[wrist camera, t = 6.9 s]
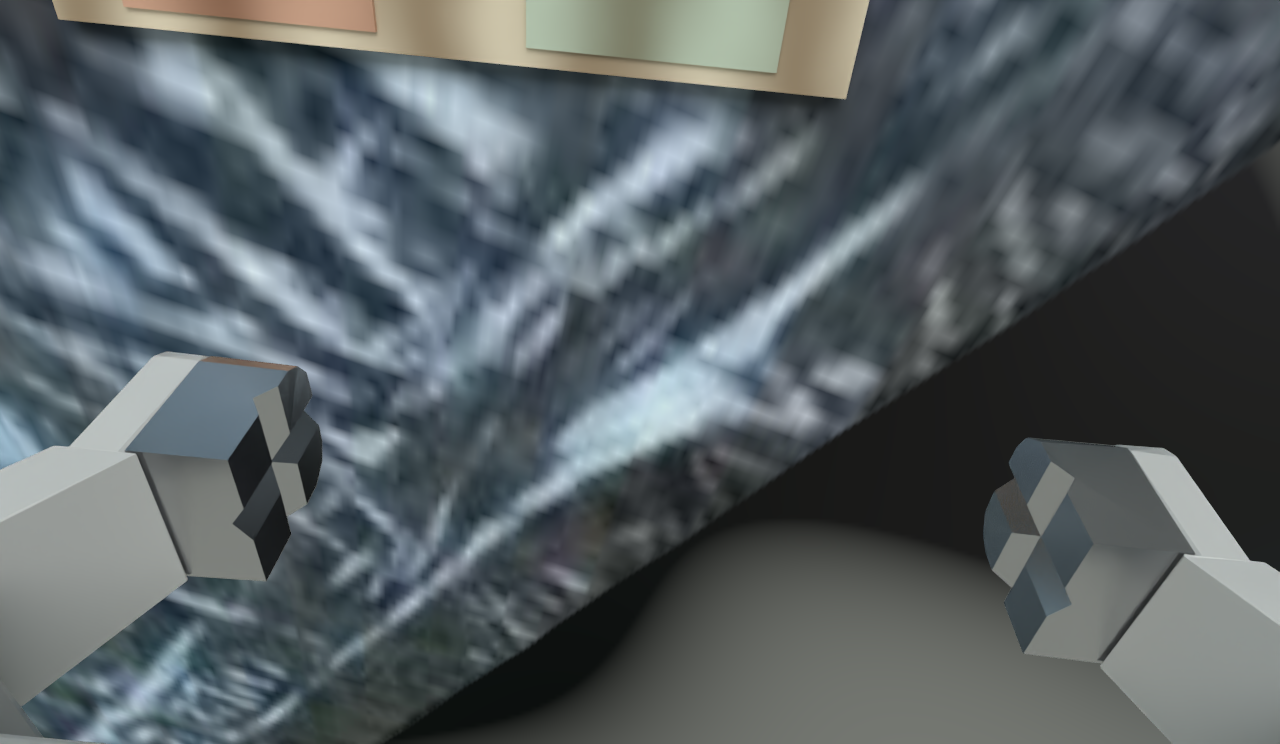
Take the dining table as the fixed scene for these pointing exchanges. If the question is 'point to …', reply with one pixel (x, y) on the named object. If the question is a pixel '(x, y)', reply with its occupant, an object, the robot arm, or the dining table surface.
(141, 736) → the dining table surface
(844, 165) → the dining table surface
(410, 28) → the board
